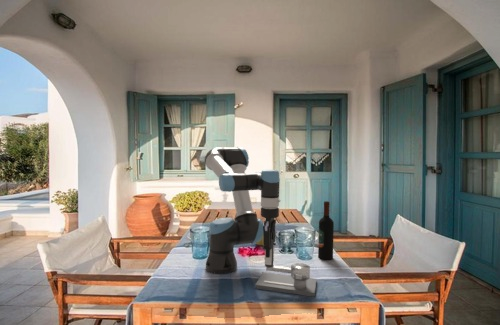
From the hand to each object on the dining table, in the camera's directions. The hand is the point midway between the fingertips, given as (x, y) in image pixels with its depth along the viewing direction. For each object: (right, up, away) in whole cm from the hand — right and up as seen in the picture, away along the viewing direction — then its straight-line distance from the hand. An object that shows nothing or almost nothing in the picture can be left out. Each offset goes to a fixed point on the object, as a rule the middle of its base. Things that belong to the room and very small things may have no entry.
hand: (269, 262), depth 124 cm
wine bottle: (+32, -9, +33) cm, 47 cm away
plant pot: (-1, -7, +56) cm, 56 cm away
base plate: (+7, -10, +1) cm, 13 cm away
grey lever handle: (+7, -4, -2) cm, 9 cm away
